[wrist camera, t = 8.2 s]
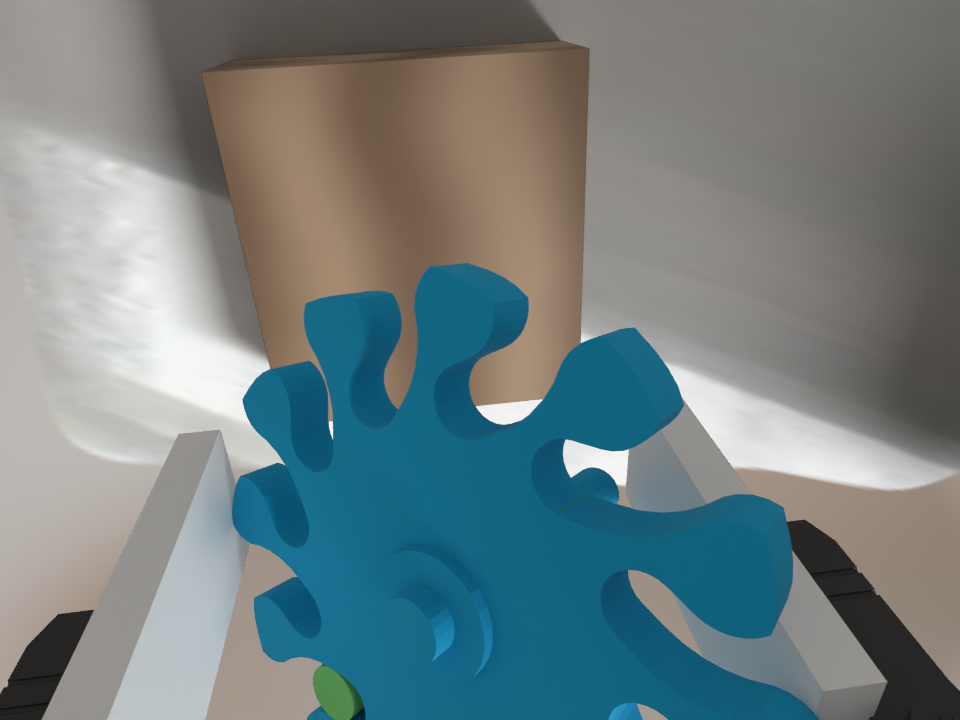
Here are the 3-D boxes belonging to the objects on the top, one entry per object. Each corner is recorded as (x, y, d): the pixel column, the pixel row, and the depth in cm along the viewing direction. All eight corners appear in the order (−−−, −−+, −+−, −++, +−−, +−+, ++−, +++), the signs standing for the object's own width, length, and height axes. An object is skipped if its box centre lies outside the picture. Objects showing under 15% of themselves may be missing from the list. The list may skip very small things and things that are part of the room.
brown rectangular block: (561, 40, 24) (589, 48, 21) (557, 349, 31) (578, 395, 27) (229, 61, 23) (201, 72, 20) (296, 375, 30) (283, 425, 26)
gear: (321, 111, 8) (1099, 818, 5) (553, 149, 13) (1036, 526, 10) (143, 592, 14) (449, 1085, 10) (350, 497, 19) (610, 817, 15)
